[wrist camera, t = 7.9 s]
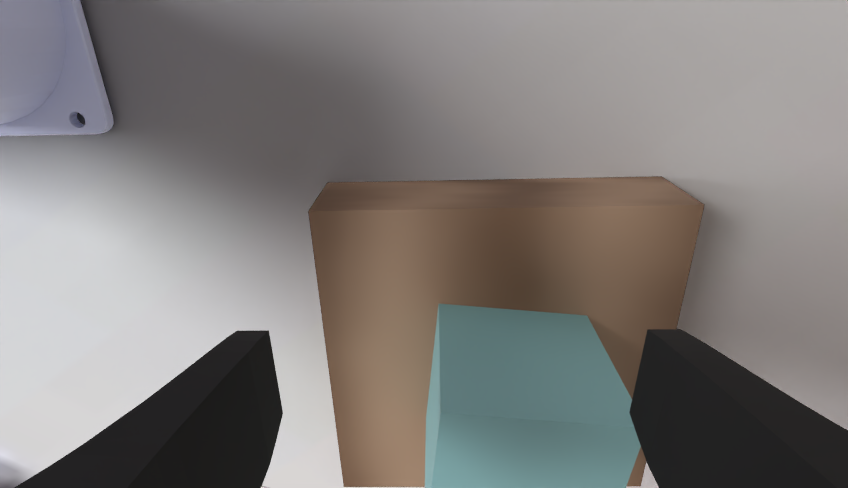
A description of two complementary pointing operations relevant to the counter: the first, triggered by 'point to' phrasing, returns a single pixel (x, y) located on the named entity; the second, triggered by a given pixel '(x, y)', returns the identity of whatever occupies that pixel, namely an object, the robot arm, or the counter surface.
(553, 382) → the teal cube
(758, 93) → the counter surface
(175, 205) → the counter surface
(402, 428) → the square wooden block
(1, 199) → the counter surface
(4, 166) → the counter surface
